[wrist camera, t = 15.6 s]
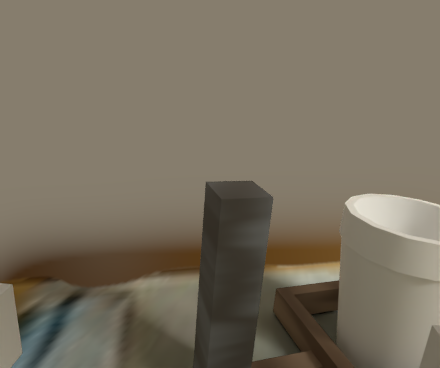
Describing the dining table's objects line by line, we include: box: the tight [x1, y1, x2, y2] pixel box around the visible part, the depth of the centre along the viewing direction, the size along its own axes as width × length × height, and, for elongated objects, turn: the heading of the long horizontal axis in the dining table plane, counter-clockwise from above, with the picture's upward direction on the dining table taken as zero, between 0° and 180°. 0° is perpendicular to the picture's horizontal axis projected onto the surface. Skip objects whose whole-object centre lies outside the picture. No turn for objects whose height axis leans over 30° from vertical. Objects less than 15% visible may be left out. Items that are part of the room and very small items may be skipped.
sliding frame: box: [193, 181, 355, 368], centre depth 25 cm, size 24×14×15 cm, turn 108°
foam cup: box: [336, 194, 440, 368], centre depth 27 cm, size 10×9×13 cm
